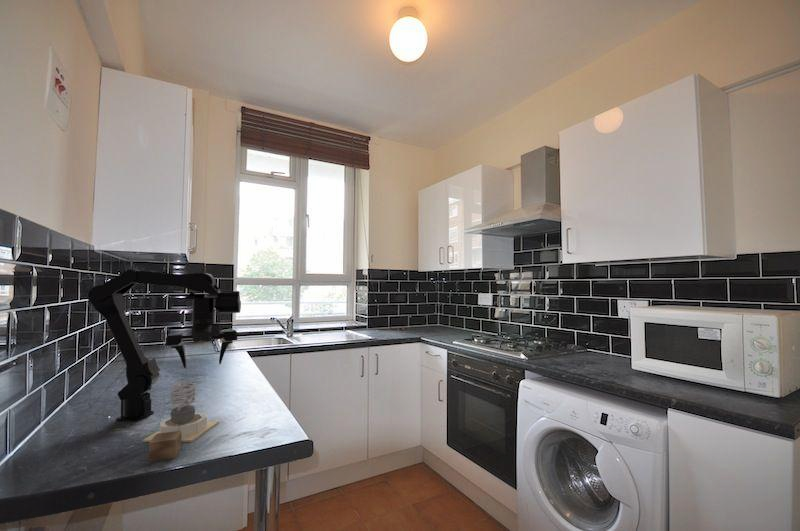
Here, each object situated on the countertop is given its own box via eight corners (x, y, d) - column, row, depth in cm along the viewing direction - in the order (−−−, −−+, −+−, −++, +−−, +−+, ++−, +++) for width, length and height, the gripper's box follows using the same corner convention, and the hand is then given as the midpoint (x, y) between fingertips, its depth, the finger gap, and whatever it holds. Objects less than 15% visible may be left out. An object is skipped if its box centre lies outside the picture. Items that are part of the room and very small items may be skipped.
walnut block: (148, 462, 76) (148, 443, 77) (155, 452, 81) (156, 433, 81) (175, 458, 78) (175, 439, 78) (181, 448, 83) (181, 430, 83)
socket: (142, 441, 86) (143, 429, 86) (176, 422, 98) (176, 411, 98) (191, 442, 86) (191, 429, 86) (219, 422, 97) (219, 411, 98)
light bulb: (176, 425, 94) (177, 379, 95) (199, 425, 95) (200, 378, 95) (164, 434, 89) (166, 385, 89) (188, 433, 89) (190, 384, 90)
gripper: (163, 318, 98) (162, 375, 97) (238, 314, 107) (238, 367, 106) (168, 315, 108) (167, 367, 107) (236, 311, 116) (236, 360, 116)
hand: (202, 365), depth 109 cm, fingers open, 9 cm apart
